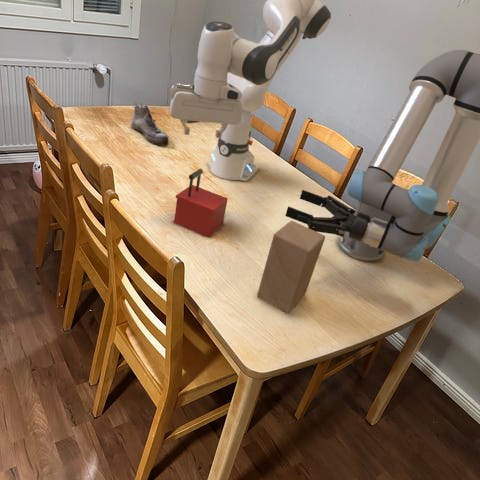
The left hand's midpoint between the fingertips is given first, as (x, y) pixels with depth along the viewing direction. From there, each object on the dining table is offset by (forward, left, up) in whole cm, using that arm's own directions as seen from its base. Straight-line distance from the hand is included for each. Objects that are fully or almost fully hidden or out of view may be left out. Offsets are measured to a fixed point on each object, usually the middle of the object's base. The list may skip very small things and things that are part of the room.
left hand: (202, 135), depth 127 cm
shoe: (-43, -56, -29) cm, 76 cm away
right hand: (-5, +31, -10) cm, 33 cm away
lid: (0, +3, -20) cm, 20 cm away
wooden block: (+12, +41, -29) cm, 51 cm away
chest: (0, +3, -29) cm, 29 cm away
